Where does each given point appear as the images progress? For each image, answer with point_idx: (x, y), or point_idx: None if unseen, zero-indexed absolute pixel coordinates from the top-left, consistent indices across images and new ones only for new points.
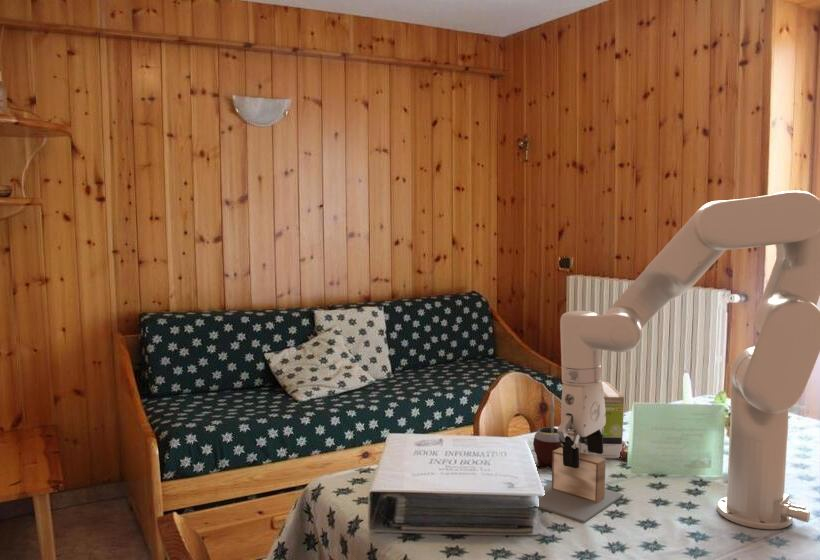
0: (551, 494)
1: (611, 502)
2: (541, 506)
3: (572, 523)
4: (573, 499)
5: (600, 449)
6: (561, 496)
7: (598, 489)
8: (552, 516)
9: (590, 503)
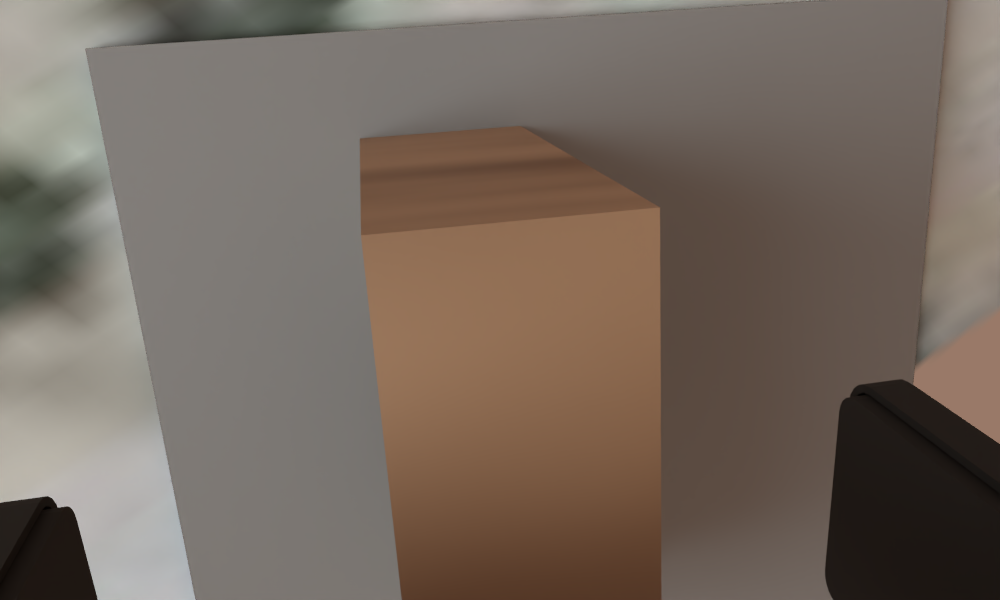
0: None
1: (392, 28)
2: None
3: (997, 66)
4: None
5: (44, 555)
6: None
7: (520, 146)
8: (970, 264)
9: None
